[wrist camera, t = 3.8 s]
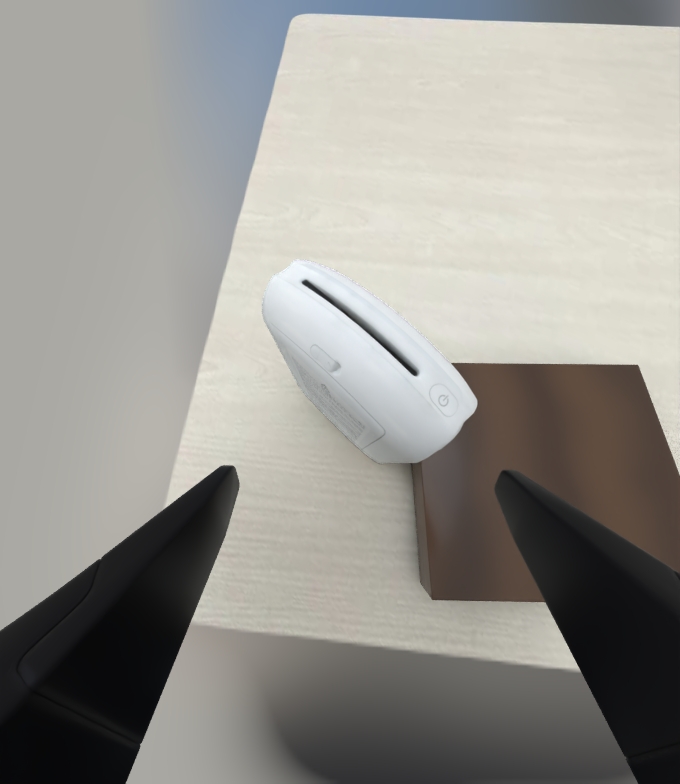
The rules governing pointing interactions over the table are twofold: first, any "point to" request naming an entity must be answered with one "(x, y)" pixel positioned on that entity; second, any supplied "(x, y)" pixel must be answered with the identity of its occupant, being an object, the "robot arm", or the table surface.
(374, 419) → the photo printer
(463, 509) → the walnut stand
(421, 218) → the table surface
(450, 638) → the table surface
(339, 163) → the table surface
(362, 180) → the table surface
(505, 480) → the robot arm
